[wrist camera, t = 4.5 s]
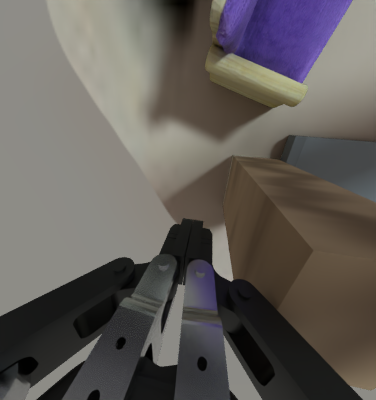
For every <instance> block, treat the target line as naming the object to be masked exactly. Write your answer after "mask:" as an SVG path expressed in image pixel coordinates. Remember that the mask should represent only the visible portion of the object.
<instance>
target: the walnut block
mask: <svg viewBox="0 0 376 400" xmlns="http://www.w3.org/2000/svg"><path fill="white" fill-rule="evenodd" d="M223 211H224V218H225V225H226V231H227V238H228V245H229V252H230V259H231V265H232V272H233V279H234V280H235V279H243V280H246V281H248V282H250V283H251V284H252V285H253V286H254V287H255V288H256V289H257V290H258V291H259V292H260V293H261V294H262V295H263V296H264V297H265V298H266V299H267V300H268V301H269V302H270V303H271V304H272V305H273V306H274V307H275V308H276V310H277V311H278V312H279V313H280V314H281V315H282V316H283V317H284V318H285V319H286V320H287V321H288V322H289V323H290V324H291V325H292V326H293V327H294V328H295V329H296V330H297V331H298V333H299V334H300V335H301V336H302V337H303V338H304V339H305V340H306V341H307V342H308V343H309V344H310V345H311V346H312V347H313V348H314V349H315V350H316V351H317V352H318V353H319V354H320V356H321V357H322V358H323V359H324V360H325V361H326V362H327V363H328V364H329V365H330V366H331V367H332V368H333V369H334V370H335V371H336V372H337V373H338V374H339V375H340V376H341V377H342V378H343V380H344V381H345V382H346V383H347V384H348V385H349V386H353V387H358V388H362V389H366V390H373V389H375V388H376V202H373V201H371V200H369V199H367V198H364V197H362V196H360V195H358V194H355V193H353V192H351V191H349V190H346V189H344V188H342V187H340V186H337V185H335V184H333V183H330V182H328V181H326V180H324V179H321V178H319V177H317V176H315V175H312V174H310V173H308V172H306V171H303V170H301V169H299V168H297V167H294V166H292V165H290V164H287V163H285V162H283V161H281V160H278V159H270V158H259V157H249V156H238V155H233V156H232V161H231V166H230V171H229V176H228V181H227V186H226V191H225V196H224V201H223Z"/></svg>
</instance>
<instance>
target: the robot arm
mask: <svg viewBox="0 0 376 400" xmlns="http://www.w3.org/2000/svg"><path fill="white" fill-rule="evenodd" d="M202 227H203V221H199V220H192V219H185V218H183V220H182V223H181V225H179V224H175V225H173V226H172V227H171V228H170V231H169V233H168V235H167V238H166V240H165V242H164V244H163V247H162V249H161V251H160V254H159V255H157V256H156V257H154V258H153V260H152V261H151V262H148V263H143V264H134V262H133V260H131V259H130V258H126V257H122V258H118V259H115V260H113V261H111V262H109V263H107V264H105V265H103V266H101V267H99V268H97V269H95V270H93V271H91V272H89V273H87V274H85V275H83V276H81V277H79V278H77V279H75V280H73V281H71V282H69V283H67V284H65V285H63V286H61V287H59V288H57V289H55V290H53V291H51V292H49V293H47V294H44V295H42V296H41V297H38V298H36V299H34V300H32V301H30V302H28V303H26V304H24V305H22V306H20V307H18V308H16V309H14V310H12V311H10V312H8V313H6V314H4V315H2V316H0V400H25V398H26V396H27V394H28V391H29V389H30V388H31V387H32V386H34V385H35V384H36V383H38V382H39V381H40V380H42V379H43V378H44V377H45V376H47V375H48V374H49V373H51V372H52V371H53V370H55V369H56V368H57V367H58V366H60V365H61V364H62V363H64V362H65V361H67V360H68V359H69V358H70V357H72V356H73V355H74V354H76V353H77V352H78V351H80V350H81V349H82V348H84V347H85V346H86V345H87V344H89V343H90V342H91V341H93V340H94V339H95V338H97V337H98V336H99V335H101V334H102V335H101V336H100V338H99V340H98V341H97V343H96V344H95V346H94V348H93V349H92V351H91V353H90V354H89V356H88V358H87V359H86V360H85V361H83V362H82V363H80V364H79V365H78V366H76V367H75V368H74V369H72V370H71V371H70V372H68V373H67V374H66V375H65V376H64V377H62V378H61V379H60V380H59V381H58V382H57V383H55V384H54V385H53V386H52V387H51V388H49V389H48V390H47V391H46V392H45V393H44V394H43V395H41V396H40V397H39V398H38V399H37V400H238V399H237V398H236V397H235V395H234V394H233V393H232V392H231V391H230V390H229V382H228V373H227V364H226V355H225V347H224V337H223V335H224V336H225V338H226V340H227V341H228V343H229V344H230V346H231V348H232V350H233V351H234V353H235V354H236V356H237V358H238V360H239V361H240V363H241V365H242V366H243V368H244V370H245V371H246V373H247V375H248V376H249V378H250V379H251V381H252V383H253V385H254V386H255V388H256V390H257V391H258V393H259V395H260V396H261V398H262V400H363V399H362V398H361V397H360V396H359V395H358V394H357V393H356V392H355V391H354V390H353V389H352V388H351V387H350V386H349V385H348V384H347V383H346V382H345V381H344V380H343V378H342V377H341V376H340V375H339V374H338V373H337V372H336V371H335V370H334V369H333V368H332V367H331V366H330V365H329V364H328V363H327V362H326V361H325V360H324V359H323V358H322V357H321V356H320V354H319V353H318V352H317V351H316V350H315V349H314V348H313V347H312V346H311V345H310V344H309V343H308V342H307V341H306V340H305V339H304V338H303V337H302V336H301V335H300V334H299V333H298V331H297V330H296V329H295V328H294V327H293V326H292V325H291V324H290V323H289V322H288V321H287V320H286V319H285V318H284V317H283V316H282V315H281V314H280V313H279V312H278V311H277V310H276V308H275V307H274V306H273V305H272V304H271V303H270V302H269V301H268V300H267V299H266V298H265V297H264V296H263V295H262V294H261V293H260V292H259V291H258V290H257V289H256V288H255V287H254V286H253V285H252V284H251V283H250V282H248V281H246V280H243V279H235V280H233V281H232V282H231V281H229V280H227V279H225V278H223V277H221V276H220V275H218V274H217V273H216V271H215V270H214V268H213V265H212V233H211V231H210V229H206V228H202ZM183 277H184V280H183ZM182 282H183V285H185V293H184V303H183V313H182V323H181V334H180V344H179V354H178V364H177V365H172V366H164V367H160V366H158V365H157V361H158V357H159V354H160V350H161V344H162V339H163V336H164V332H165V329H166V325H167V322H168V319H169V315H170V312H171V309H172V305H173V302H174V299H175V294H176V291H177V287H178V284H182Z"/></svg>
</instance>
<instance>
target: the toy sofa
mask: <svg viewBox="0 0 376 400" xmlns="http://www.w3.org/2000/svg"><path fill="white" fill-rule="evenodd" d="M351 2H352V0H213V1H212V5H211V11H210V27H211V30H212V39H213V43H212V46H211V47H210V49H209V51H208V54H207V58H206V63H205V70H206V71H208V72H209V74H210V80H211V81H212V82H214V83H216V84H219V85H221V86H223V87H225V88H227V89H230V90H232V91H234V92H236V93H239V94H241V95H243V96H245V97H248V98H250V99H252V100H254V101H257V102H259V103H262V104H264V105H266V106H268V107H271V108H275V107H277V106H280V105H282V104H285V105H288V106H290V107H294V106H296V105H297V104H299V103H300V102H301V100H302V99H303V98H304V96H305V94H306V92H307V89H308V86H307V85H304V84H302V83H303V81H304V79H305V78H306V76H307V74H308V72H309V71H310V69H311V68H312V66H313V64H314V62H315V61H316V59H317V58H318V56H319V55H320V53H321V52H322V50H323V48H324V46H325V45H326V43H327V41H328V40H329V38H330V37H331V35H332V34H333V32H334V30H335V29H336V27H337V25H338V24H339V22H340V20H341V19H342V17H343V15H344V14H345V12H346V11H347V9H348V7H349V5H350V4H351Z"/></svg>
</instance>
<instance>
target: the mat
mask: <svg viewBox="0 0 376 400" xmlns="http://www.w3.org/2000/svg"><path fill="white" fill-rule="evenodd" d="M280 160H281V161H283V162H285V163H287V164H290V165H292V166H294V167H297V168H299V169H301V170H303V171H306V172H308V173H310V174H312V175H315V176H317V177H319V178H321V179H324V180H326V181H328V182H330V183H333V184H335V185H337V186H340V187H342V188H344V189H346V190H349V191H351V192H353V193H355V194H358V195H360V196H362V197H364V198H367V199H369V200H371V201H373V202H376V142H369V141H356V140H343V139H330V138H318V137H305V136H292V135H289V136H288V139H287V142H286V145H285V148H284V150H283V153H282V156H281V159H280Z"/></svg>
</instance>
